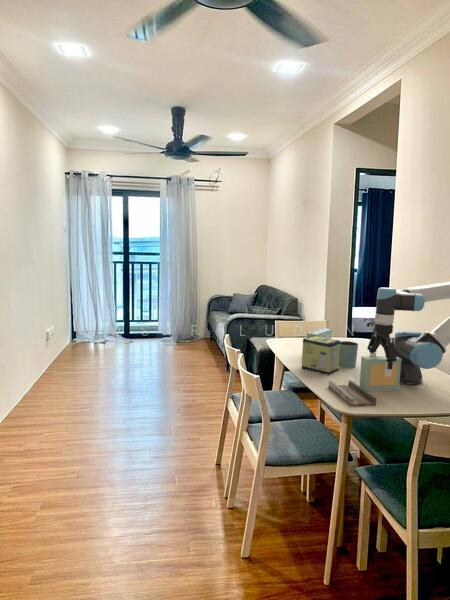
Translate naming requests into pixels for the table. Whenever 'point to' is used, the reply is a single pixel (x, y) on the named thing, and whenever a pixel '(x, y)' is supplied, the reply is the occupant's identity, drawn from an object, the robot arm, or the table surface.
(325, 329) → the snack box
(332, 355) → the protein box
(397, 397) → the table surface
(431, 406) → the table surface
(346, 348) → the green cup
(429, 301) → the robot arm
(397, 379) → the cracker box
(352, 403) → the facing shelf
